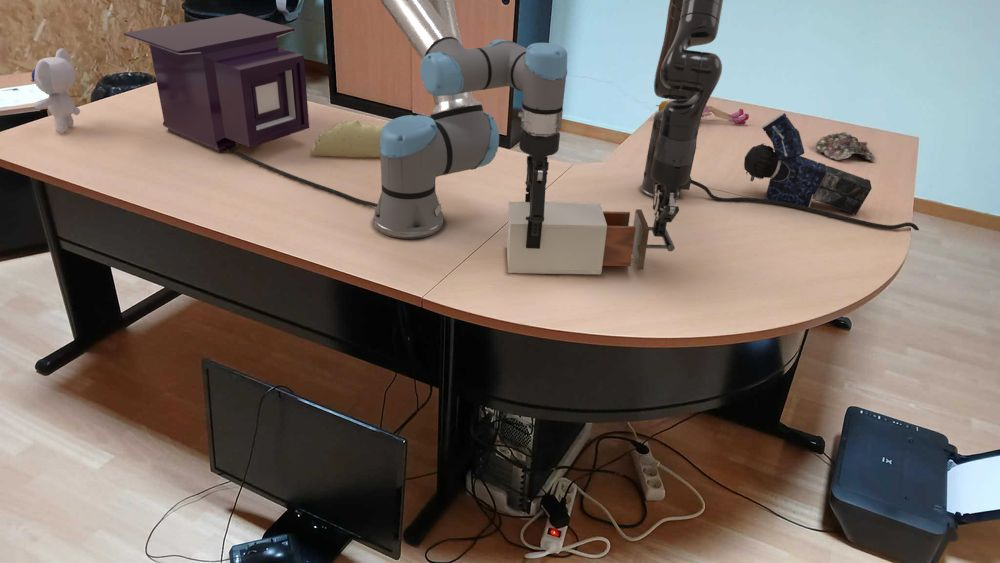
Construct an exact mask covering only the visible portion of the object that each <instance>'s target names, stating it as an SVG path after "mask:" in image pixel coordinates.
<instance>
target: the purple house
mask: <svg viewBox="0 0 1000 563" xmlns="http://www.w3.org/2000/svg"><path fill="white" fill-rule="evenodd" d="M294 31H295V28H294V27H292V26H287V25H283V24H279V23H276V22H272V21H269V20H264V19H262V18H259V17H256V16H255V17H254V16H252V15H247V14H244V13H235V14H230V15H224V16H217V17H212V18H205V19H200V20H194V21H188V22H181V23H175V24H169V25H163V26H157V27H151V28H146V29H145V28H144V29H139V30H134V31H128V32H123V36H125V37H127V38H130V39H133V40H136V41H138V42H142V43H145V44H148V45H149V50H150V54H151V60H152V66H153V71H154V75H155V76H154V77H155V82H156V87H157V92H158V97H159V102H160V107H161V113H162V118H163V122H162V126H163V127H165V128H166V129H167V131H168V132H170V133H172V134H175V135H177V136H179V137H182V138H184V139H187V140H189V141H191V142H193V143H196V144H197V145H200V146H203V147H205V148H207V149H209V150H212V151H215V152H217V153H219V154H220V153H224V152H227V151H228V150H227V149H226V148H227V147H229V148H231V149H235V148H237V144H240V145H242V146H245V147H247V148H249V149H250V148H253V147H256V146H259V145H262V144H266V143H269V142H271V141H275V140H278V139H281V138H285V137H287V136H289V135H293V134H296V133H300V132H302V131H305V130H308V129H310V118H309V105H308V94H307V93H308V92H307V80H306V79H307V78H306V68H305V56H304V54H303V53H302V54H301V53H297V52H296V51H295V52H294V51H291V50H288V49H285V48H282V47H279V44H278V40H277V38H280V37H282V36H286V35H287V34H291V33H292V32H294Z"/></svg>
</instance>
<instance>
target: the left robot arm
mask: <svg viewBox="0 0 1000 563" xmlns="http://www.w3.org/2000/svg"><path fill="white" fill-rule="evenodd" d="M379 1H380V2H381V4H382V5H383V7H384V8H385V10H386V11H387V12H388V15H390V17H391V18H392V19H393V21H394V22H395V23H396V25H397V26H398V28H399V29H400V31H401V32H402V34H403V35H404V37H405V38H406V39H407V41H408V42H409V43H410V45H411V46H412V48H413V49H414V51H415V53H417V55H418V56H419V58H420V59H421V60H422V61H421V63H420V68H419V69H420V70H419V72H420V78H421V81H422V82H423V83H422V84H423V88H424V89H425V90H426V92H427V93H429V95H432V97H433V98H432V99H433V103H434V107H433V109H432V110H431V112H430V116H427V115H423V114H417V115H413V114H409V115H402V116H399V117H396V118H392V119H390V120H389V121H388V122H386V123H385V124H384V126H382V127H383V129H382V131H381V137H380V147H379V149H380V157H379V158H380V182H381V190H380V191H381V192H380V195H379V197H378V201H377V203H375V202H373V201H368V200H364V199H360V198H358V197H354V196H352V195H349V194H346V193H345V192H341V191H339V190H336V189H333V188H330V187H327V186H325V185H322V184H319V183H316V182H313V181H311V180H308V179H305V178H302V177H299V176H297V175H294V174H291V173H289V172H286V171H283V170H281V169H278V168H277V167H273V166H271V165H269V164H267V163H264V162H261V161H260V160H257V159H255V158H253V157H250V156H248V155H246V154H244V153H242V152H240V151H237V150H236V149H234V148H232V149H231V148H229V147H227V148H226V149H227V150H226V151H228V152H230V153H233V154H234V155H237V156H239V157H240V158H243V159H245V160H248V161H250V162H252V163H254V164H256V165H259V166H260V167H262V168H265V169H268V170H270V171H273V172H274V173H277V174H280V175H282V176H284V177H287V178H290V179H293V180H296V181H297V182H301V183H304V184H306V185H308V186H311V187H314V188H318V189H319V190H322V191H326V192H329V193H330V194H335V195H337V196H340V197H342V198H345V199H348V200H350V201H353V202H355V203H358V204H362V205H365V206H370V207H374V208H375V210H374V213H373V225H374V228H375V229H376V230H377V231H378V232H380V233H381V234H383V235H385V236H388V237H392V238H395V239H403V240H414V239H422V238H426V237H430V236H432V235H434V234H436V233H438V232H439V231H440V230H441V229H442V227H443V226H444V214H443V211H442V209H443V207H442V203H440V201H439V198H438V195H437V193H436V178H438V177H442V176H447V175H451V174H455V173H460V172H465V171H472V170H473V171H474V170H476V169H478V168H481V167H484V166H487V165H489V164H491V163H492V162H493V160H494V159H495V157H496V155H497V153H498V150H499V146H500V145H499V144H500V132H499V127H498V124H497V121H496V120H495V119H494V117H493V115H491V114H490V113H488V112H485V111H484V108H483V104H482V102H480V101H478V100H477V99H476V98H475V97H474V95H473V92H478V91H485V90H492V89H498V88H504V87H511V88H513V89H515V90H517V91H519V92H522V104H521V107H522V108H521V111H519V112H518V114H517V116H518V117H519V118H520V119H521V121H520V123H521V124H520V127H521V129H520V132H519V142H518V143H519V144H518V146H519V149H520V151H521V152H523V153H524V154H526V155H527V156H526V177H525V178H526V179H525V186H526V187H525V192H526V193H525V198H524V202H530V215H529V217H526V220H528V228H527V240H526V248H532V249H540V242H541V231H542V222H543V221H544V206H545V202H546V189H547V182H548V181H547V180H548V174H549V173H548V171H549V169H550V168H549V165H550V164H549V160H548V159H549V158H548V157H549V156H553V155H555V154H557V153H558V152H559V148H560V139H561V133H560V132H561V130H562V123H563V114H564V108H563V107H564V99H565V90H566V80H567V75H568V52H567V49H566V48H565V47H564V46H562V45H559V44H557V43H551V42H534V43H531V44H529V45H528V46H527V47H524V46H522V45H520V44H518V43H517V42H514V41H512V40H506V39H501V38H498V39H494V40H492V41H491V42H490V43H488V44H486V46H484V47H475V48H465V47H464V46H463V40H462V36H461V31H460V27H459V26H460V25H459V22H458V16H457V12H456V8H455V3H454V0H379Z"/></svg>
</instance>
